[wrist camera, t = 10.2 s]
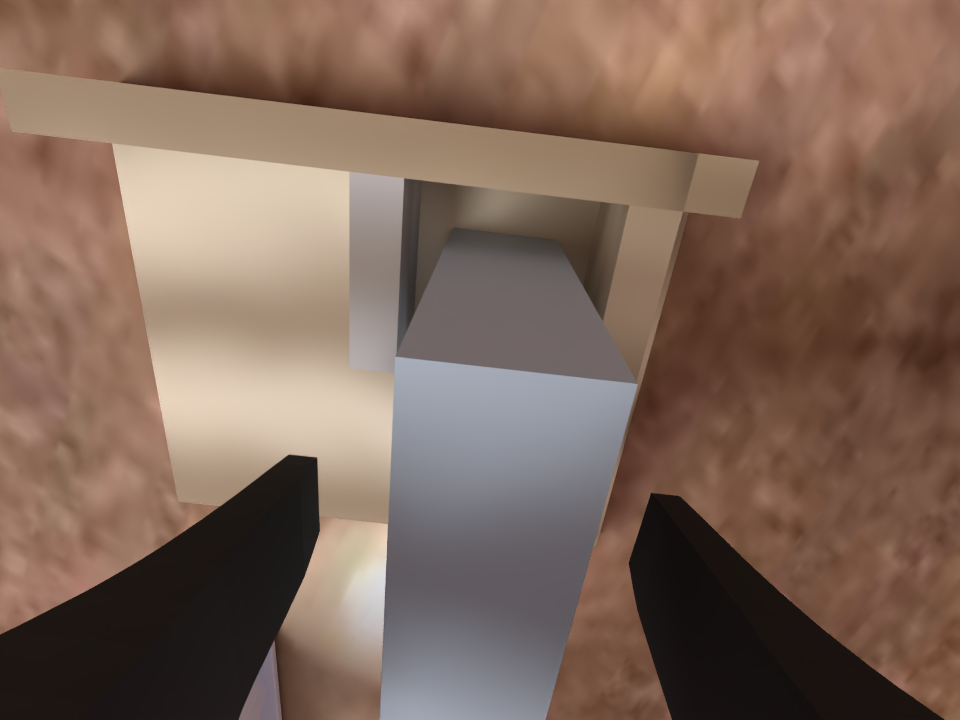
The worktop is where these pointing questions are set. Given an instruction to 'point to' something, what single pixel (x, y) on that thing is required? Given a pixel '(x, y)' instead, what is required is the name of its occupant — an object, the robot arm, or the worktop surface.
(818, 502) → the worktop surface
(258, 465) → the book rack
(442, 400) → the book
